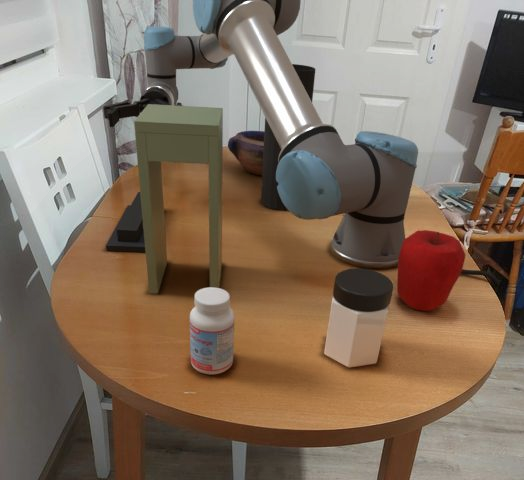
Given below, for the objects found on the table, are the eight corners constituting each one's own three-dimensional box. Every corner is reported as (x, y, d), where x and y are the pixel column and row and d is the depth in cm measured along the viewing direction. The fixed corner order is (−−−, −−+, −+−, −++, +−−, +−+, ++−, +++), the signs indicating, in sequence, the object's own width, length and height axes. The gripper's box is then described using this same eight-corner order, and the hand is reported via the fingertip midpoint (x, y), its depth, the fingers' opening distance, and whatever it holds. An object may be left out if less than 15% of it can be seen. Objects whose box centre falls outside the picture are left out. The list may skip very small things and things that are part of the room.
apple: (378, 294, 94) (393, 222, 86) (425, 286, 97) (443, 217, 89) (411, 324, 86) (430, 249, 78) (461, 315, 89) (485, 242, 81)
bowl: (306, 170, 152) (310, 134, 146) (275, 185, 139) (277, 147, 133) (255, 158, 159) (256, 123, 153) (221, 171, 146) (221, 134, 141)
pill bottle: (182, 361, 74) (178, 293, 68) (214, 345, 78) (214, 279, 71) (209, 382, 71) (208, 312, 64) (242, 364, 75) (244, 296, 68)
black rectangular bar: (139, 202, 121) (138, 191, 120) (156, 203, 121) (155, 192, 120) (117, 241, 103) (116, 229, 102) (138, 242, 103) (136, 230, 102)
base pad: (128, 210, 120) (127, 205, 119) (162, 211, 120) (162, 206, 120) (106, 250, 102) (105, 245, 101) (147, 252, 102) (146, 247, 102)
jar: (390, 352, 79) (407, 283, 72) (360, 375, 74) (375, 303, 67) (343, 328, 84) (354, 261, 77) (311, 349, 79) (321, 278, 72)
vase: (309, 208, 127) (324, 70, 109) (272, 212, 123) (281, 71, 106) (289, 194, 134) (300, 63, 117) (254, 198, 131) (260, 63, 113)
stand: (159, 262, 99) (147, 103, 83) (221, 264, 100) (222, 107, 83) (149, 293, 90) (133, 121, 73) (218, 295, 90) (218, 125, 74)
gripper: (206, 121, 133) (199, 142, 115) (108, 116, 132) (86, 137, 114) (206, 89, 128) (199, 106, 111) (104, 83, 127) (81, 100, 110)
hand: (142, 121), depth 113 cm, fingers open, 13 cm apart
